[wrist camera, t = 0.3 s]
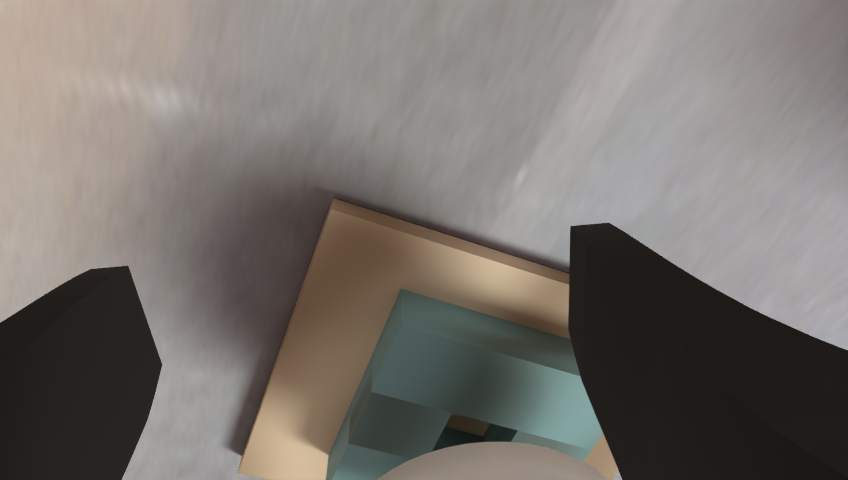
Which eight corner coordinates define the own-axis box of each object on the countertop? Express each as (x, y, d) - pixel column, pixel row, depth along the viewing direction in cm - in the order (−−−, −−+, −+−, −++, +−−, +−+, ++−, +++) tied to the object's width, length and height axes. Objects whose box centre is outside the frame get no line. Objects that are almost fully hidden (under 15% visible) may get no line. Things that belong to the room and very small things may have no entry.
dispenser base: (708, 318, 25) (742, 369, 22) (559, 531, 30) (573, 591, 27) (333, 198, 22) (325, 241, 19) (241, 456, 27) (226, 516, 25)
